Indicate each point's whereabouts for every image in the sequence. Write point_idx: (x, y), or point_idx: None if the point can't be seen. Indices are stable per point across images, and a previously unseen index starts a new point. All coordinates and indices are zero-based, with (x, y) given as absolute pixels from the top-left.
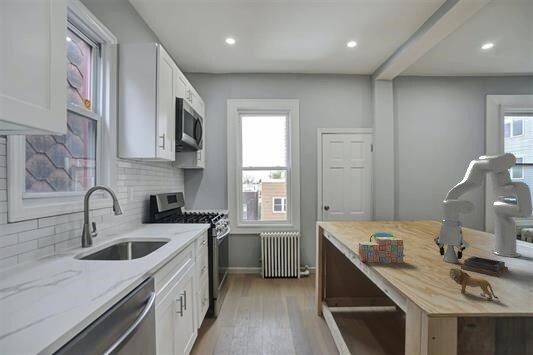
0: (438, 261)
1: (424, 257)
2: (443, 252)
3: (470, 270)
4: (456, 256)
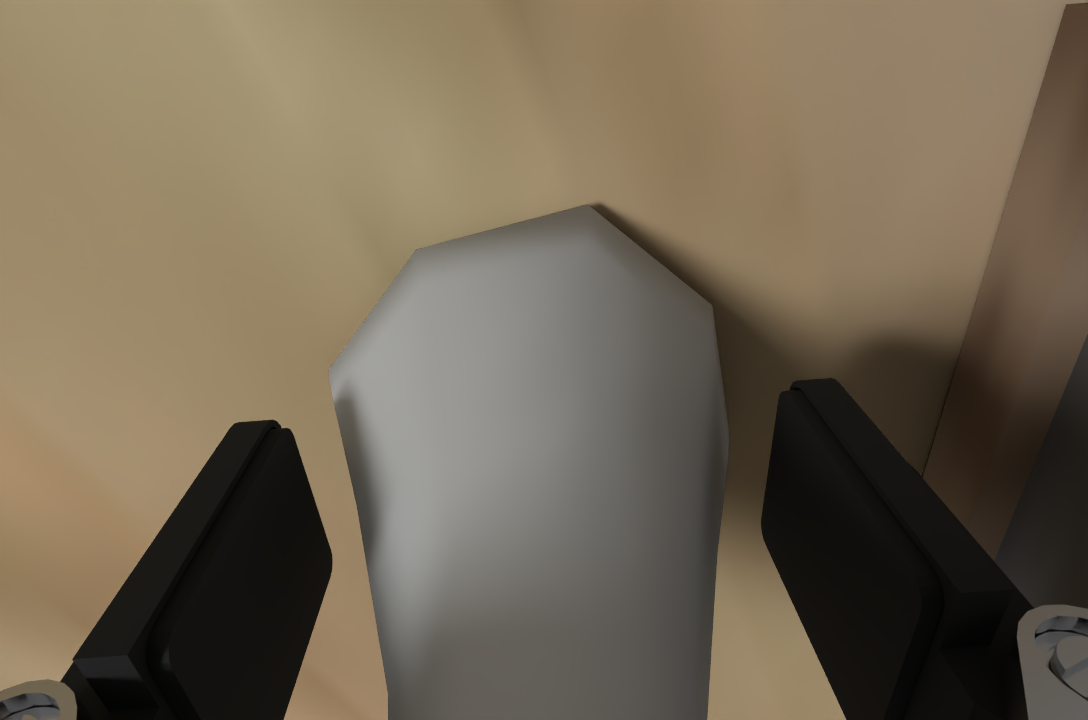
0: None
1: (19, 572)
2: (274, 550)
3: None
4: (709, 465)
